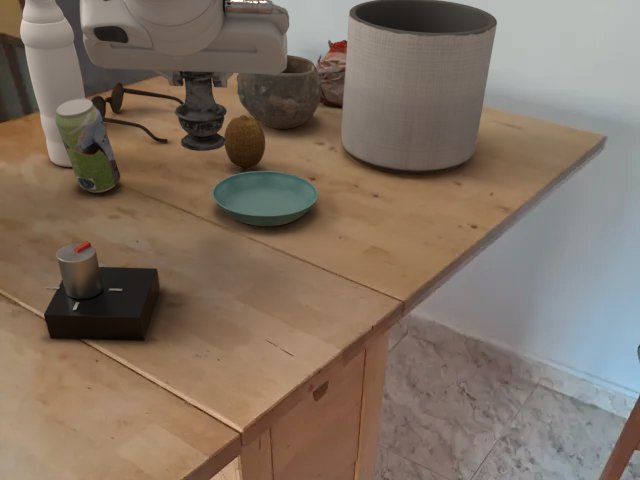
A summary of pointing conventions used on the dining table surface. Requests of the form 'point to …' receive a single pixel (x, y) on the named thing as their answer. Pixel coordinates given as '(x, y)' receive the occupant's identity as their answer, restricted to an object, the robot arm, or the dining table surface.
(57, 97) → the water bottle
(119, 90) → the eyeglasses
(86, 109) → the beverage can
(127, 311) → the dial base
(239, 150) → the fruit
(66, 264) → the hob knob
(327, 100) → the food item
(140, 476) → the dining table surface
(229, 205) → the saucer
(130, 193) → the dining table surface
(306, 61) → the bowl
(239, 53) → the robot arm
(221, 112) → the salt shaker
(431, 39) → the planter
